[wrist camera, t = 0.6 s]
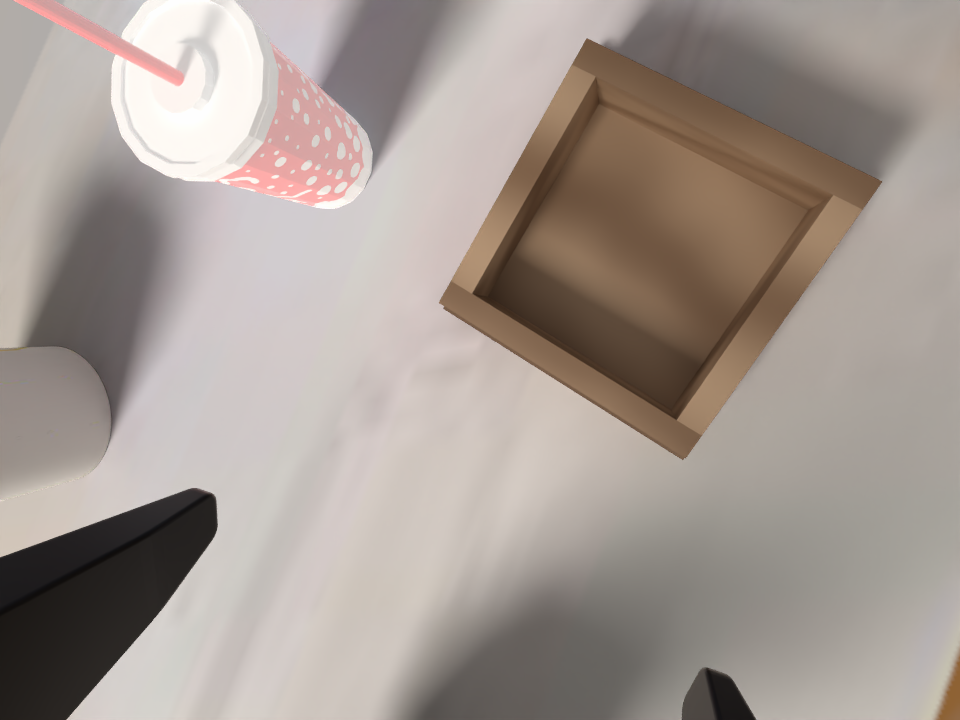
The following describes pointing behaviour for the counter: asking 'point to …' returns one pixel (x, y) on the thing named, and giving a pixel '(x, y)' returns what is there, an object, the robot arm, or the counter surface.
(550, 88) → the counter surface
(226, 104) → the beverage cup
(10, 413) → the grey upright cylinder
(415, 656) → the counter surface
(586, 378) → the tray
